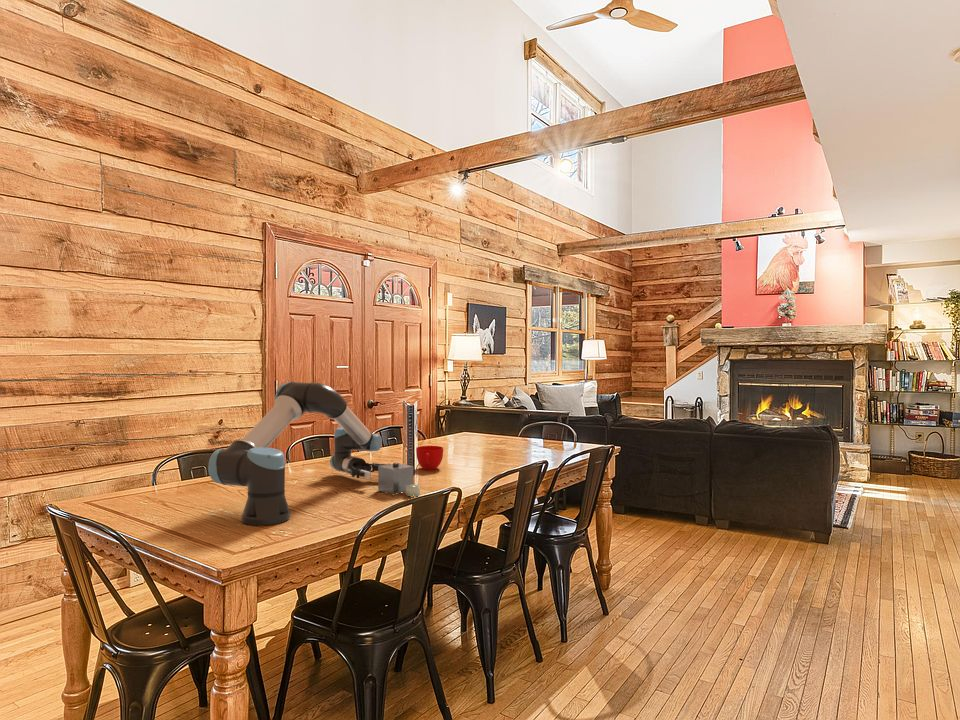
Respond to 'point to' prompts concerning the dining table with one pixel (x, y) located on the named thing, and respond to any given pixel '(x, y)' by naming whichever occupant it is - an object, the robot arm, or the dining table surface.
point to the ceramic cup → (429, 456)
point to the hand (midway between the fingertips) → (383, 473)
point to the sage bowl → (412, 490)
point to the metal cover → (394, 477)
